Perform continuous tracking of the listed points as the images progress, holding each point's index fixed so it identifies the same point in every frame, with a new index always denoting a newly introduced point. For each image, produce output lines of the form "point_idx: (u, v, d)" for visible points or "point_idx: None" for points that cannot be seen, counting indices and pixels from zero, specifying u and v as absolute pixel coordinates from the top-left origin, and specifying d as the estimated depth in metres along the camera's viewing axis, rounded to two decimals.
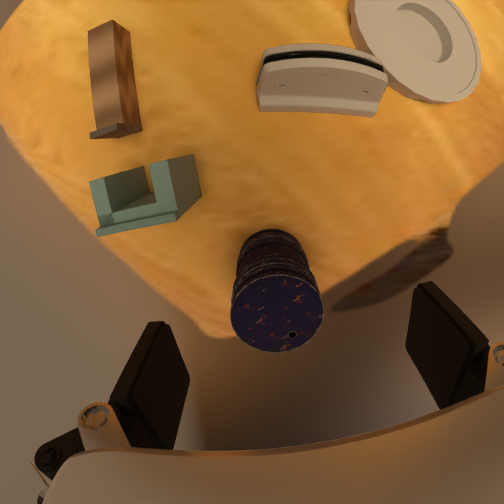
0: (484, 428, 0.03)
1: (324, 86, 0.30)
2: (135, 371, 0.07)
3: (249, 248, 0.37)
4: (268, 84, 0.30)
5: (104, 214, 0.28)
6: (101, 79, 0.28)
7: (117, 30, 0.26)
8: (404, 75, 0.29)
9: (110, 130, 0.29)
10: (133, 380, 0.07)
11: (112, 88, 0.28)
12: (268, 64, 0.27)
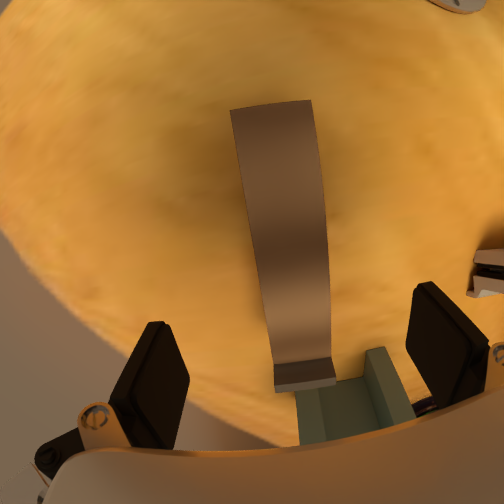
0: (484, 428, 0.03)
1: None
2: (135, 371, 0.07)
3: None
4: None
5: None
6: (289, 269, 0.16)
7: None
8: None
9: (321, 385, 0.17)
10: (133, 380, 0.07)
11: (315, 295, 0.17)
12: None
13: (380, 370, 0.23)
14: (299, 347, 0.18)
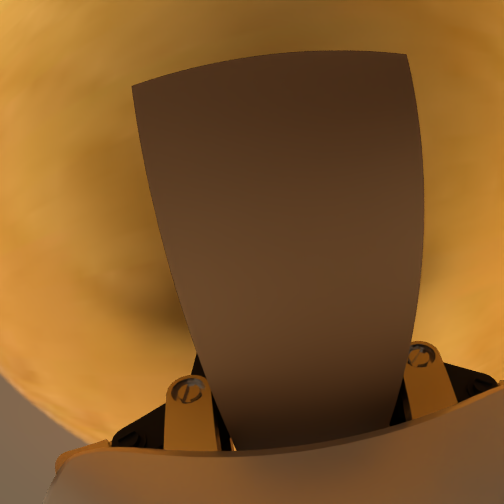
0: (484, 428, 0.03)
1: None
2: None
3: None
4: None
5: None
6: None
7: None
8: None
9: None
10: None
11: None
12: None
13: None
14: None
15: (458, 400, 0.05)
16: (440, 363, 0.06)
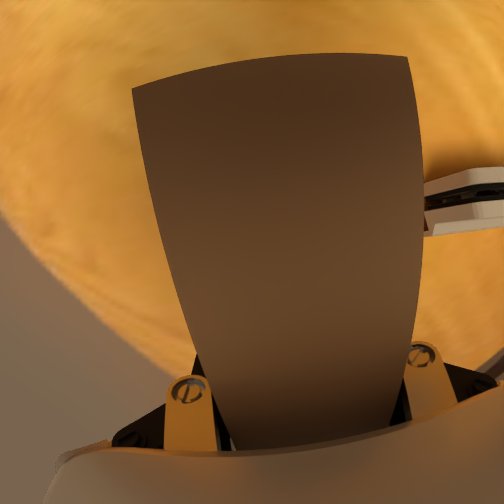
0: (484, 428, 0.03)
1: None
2: None
3: None
4: None
5: None
6: None
7: None
8: None
9: None
10: None
11: None
12: (482, 204, 0.15)
13: None
14: None
15: (458, 400, 0.05)
16: (440, 363, 0.06)
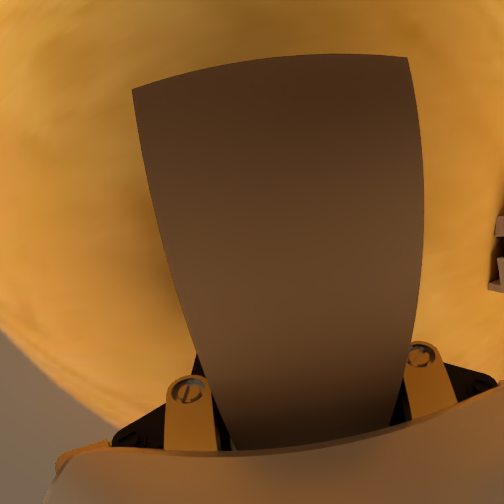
0: (484, 428, 0.03)
1: None
2: None
3: None
4: None
5: None
6: None
7: None
8: None
9: None
10: None
11: None
12: None
13: None
14: None
15: (458, 400, 0.05)
16: (440, 363, 0.06)
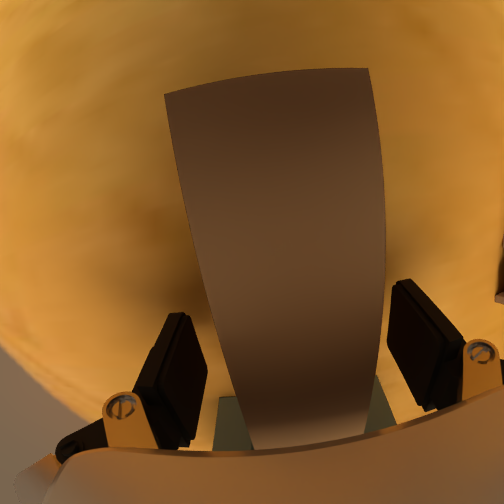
0: (484, 428, 0.03)
1: None
2: (160, 360, 0.08)
3: None
4: None
5: None
6: (300, 412, 0.08)
7: None
8: None
9: None
10: (159, 368, 0.07)
11: (340, 435, 0.08)
12: None
13: (367, 418, 0.12)
14: None
15: None
16: (497, 364, 0.05)
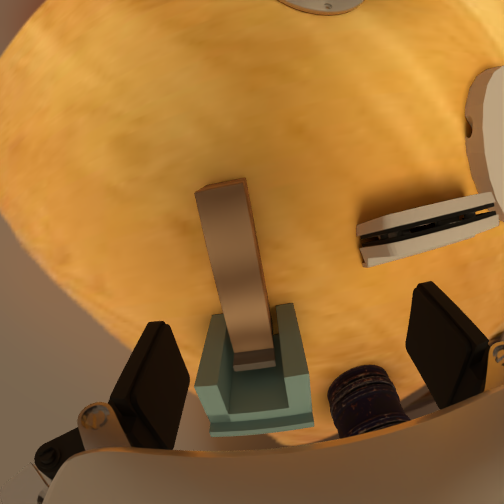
0: (484, 428, 0.03)
1: None
2: (135, 371, 0.07)
3: (351, 398, 0.32)
4: None
5: (217, 414, 0.23)
6: (236, 287, 0.26)
7: (246, 197, 0.24)
8: None
9: (265, 366, 0.26)
10: (133, 380, 0.07)
11: (255, 304, 0.26)
12: (395, 244, 0.23)
13: (283, 318, 0.30)
14: (250, 340, 0.27)
15: None
16: None
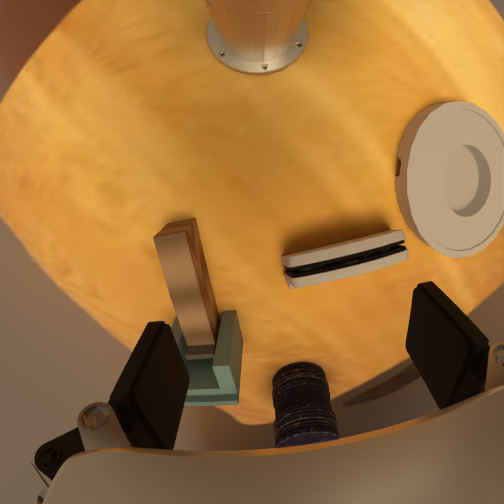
0: (484, 428, 0.03)
1: None
2: (135, 371, 0.07)
3: (285, 388, 0.42)
4: None
5: None
6: (185, 301, 0.36)
7: (190, 239, 0.34)
8: (437, 238, 0.35)
9: (207, 357, 0.36)
10: (133, 380, 0.07)
11: (199, 313, 0.36)
12: (296, 279, 0.33)
13: (224, 322, 0.40)
14: (197, 337, 0.38)
15: None
16: None
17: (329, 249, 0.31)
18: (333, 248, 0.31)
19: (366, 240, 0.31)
